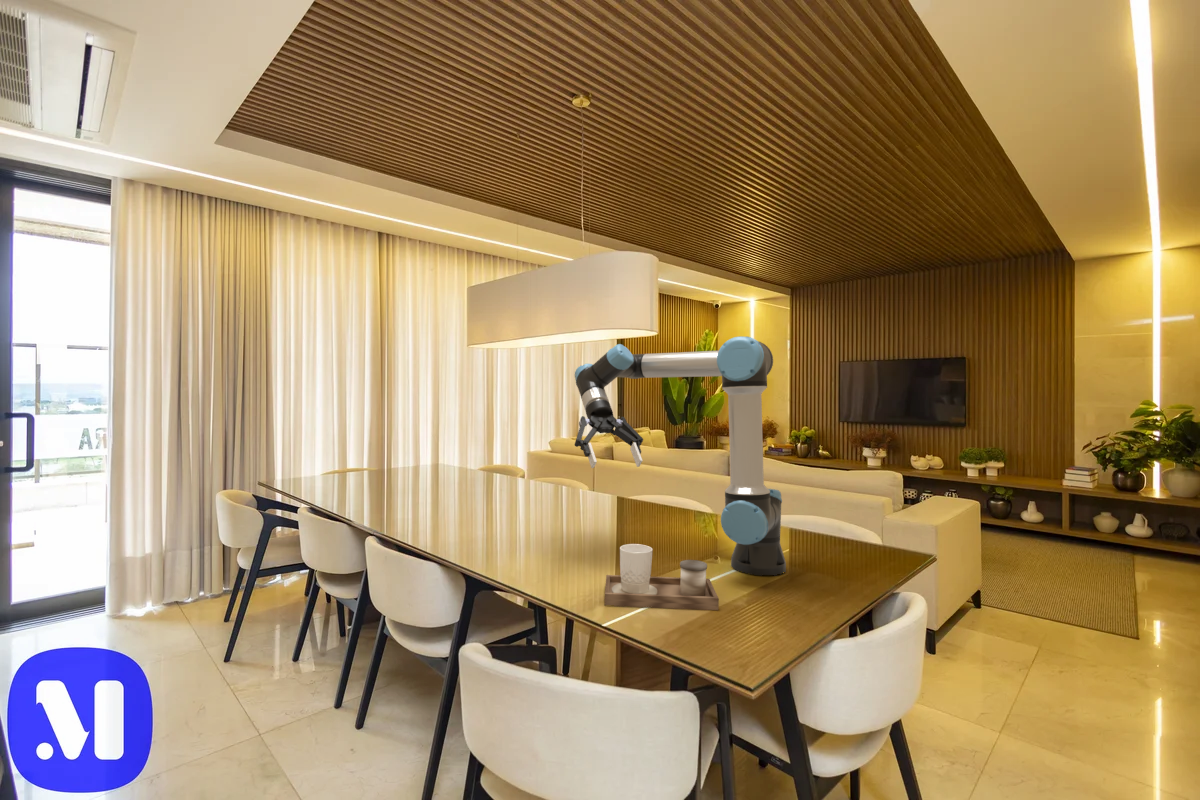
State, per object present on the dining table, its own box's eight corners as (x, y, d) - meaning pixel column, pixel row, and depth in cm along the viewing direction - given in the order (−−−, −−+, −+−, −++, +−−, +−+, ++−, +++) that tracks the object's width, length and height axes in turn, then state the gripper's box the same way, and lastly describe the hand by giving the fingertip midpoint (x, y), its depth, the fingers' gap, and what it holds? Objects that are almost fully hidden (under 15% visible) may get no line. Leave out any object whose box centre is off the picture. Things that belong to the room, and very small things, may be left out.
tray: (708, 589, 145) (709, 556, 145) (718, 610, 131) (719, 573, 131) (606, 585, 146) (607, 552, 146) (604, 605, 132) (605, 569, 132)
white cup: (649, 596, 134) (650, 553, 134) (616, 593, 136) (617, 551, 136) (652, 585, 142) (654, 545, 142) (621, 582, 143) (622, 542, 143)
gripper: (631, 416, 176) (653, 471, 163) (554, 415, 167) (570, 474, 153) (639, 399, 172) (662, 454, 158) (560, 397, 162) (577, 456, 148)
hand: (617, 464), depth 155 cm, fingers open, 13 cm apart
